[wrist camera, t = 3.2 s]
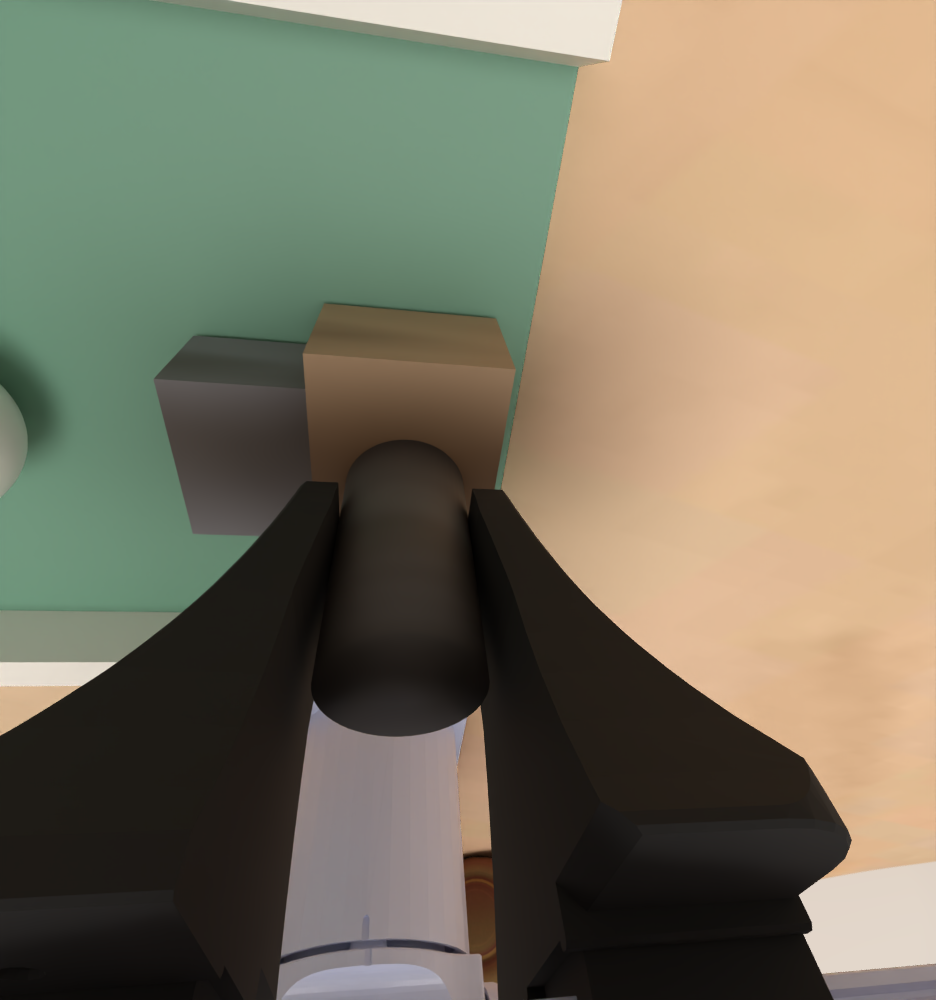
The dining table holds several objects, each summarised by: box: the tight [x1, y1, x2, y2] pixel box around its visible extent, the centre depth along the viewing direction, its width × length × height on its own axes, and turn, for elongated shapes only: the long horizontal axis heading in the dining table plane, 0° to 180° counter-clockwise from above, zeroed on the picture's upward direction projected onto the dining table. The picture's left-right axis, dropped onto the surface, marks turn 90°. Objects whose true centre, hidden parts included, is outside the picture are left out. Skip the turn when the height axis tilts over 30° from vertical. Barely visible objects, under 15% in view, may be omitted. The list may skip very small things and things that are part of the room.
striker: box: [153, 303, 516, 737], centre depth 11 cm, size 6×7×8 cm
